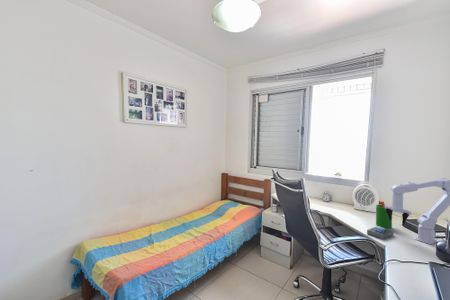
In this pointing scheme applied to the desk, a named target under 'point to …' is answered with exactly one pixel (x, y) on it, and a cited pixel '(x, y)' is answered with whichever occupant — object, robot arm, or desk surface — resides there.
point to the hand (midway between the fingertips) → (397, 221)
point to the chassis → (380, 233)
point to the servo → (379, 229)
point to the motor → (382, 216)
